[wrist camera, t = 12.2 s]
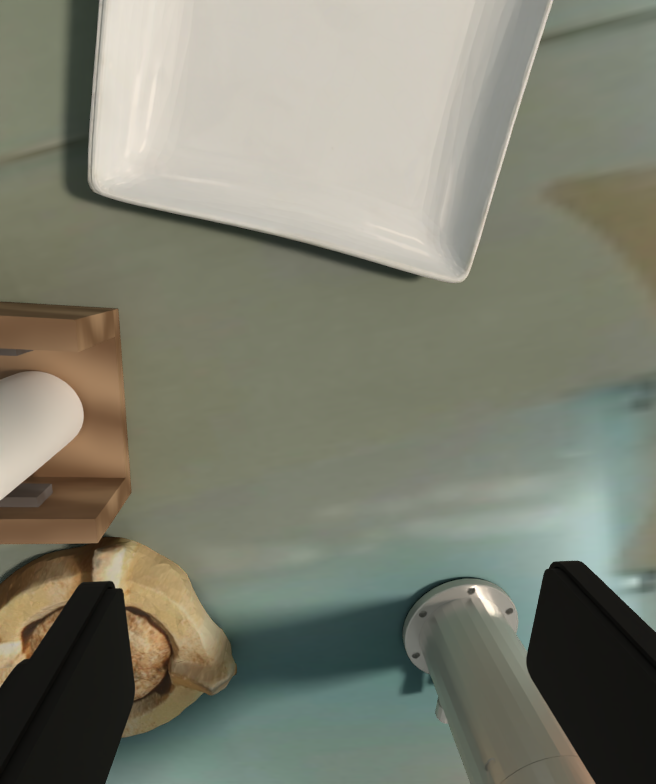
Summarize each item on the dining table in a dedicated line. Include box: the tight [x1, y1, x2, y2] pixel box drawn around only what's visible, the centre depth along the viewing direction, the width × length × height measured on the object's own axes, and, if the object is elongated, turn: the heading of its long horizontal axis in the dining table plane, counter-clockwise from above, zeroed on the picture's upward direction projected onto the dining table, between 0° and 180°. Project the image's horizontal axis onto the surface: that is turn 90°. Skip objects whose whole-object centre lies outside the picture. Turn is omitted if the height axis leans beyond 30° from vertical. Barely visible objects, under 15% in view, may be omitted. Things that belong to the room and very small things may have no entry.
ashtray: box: [0, 537, 237, 738], centre depth 38 cm, size 24×24×5 cm
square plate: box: [88, 0, 553, 283], centre depth 27 cm, size 27×27×4 cm
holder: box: [0, 302, 131, 544], centre depth 30 cm, size 16×12×7 cm
